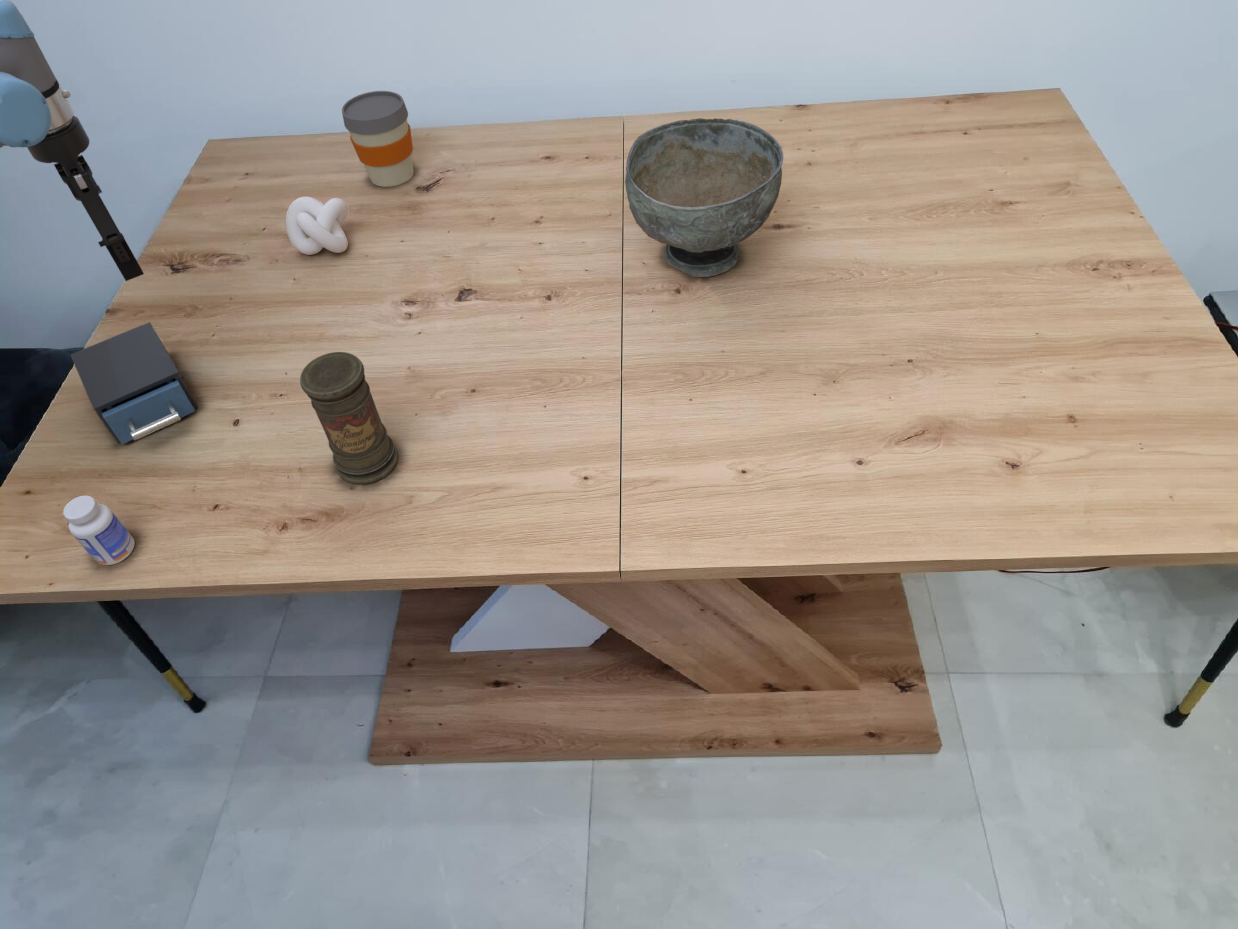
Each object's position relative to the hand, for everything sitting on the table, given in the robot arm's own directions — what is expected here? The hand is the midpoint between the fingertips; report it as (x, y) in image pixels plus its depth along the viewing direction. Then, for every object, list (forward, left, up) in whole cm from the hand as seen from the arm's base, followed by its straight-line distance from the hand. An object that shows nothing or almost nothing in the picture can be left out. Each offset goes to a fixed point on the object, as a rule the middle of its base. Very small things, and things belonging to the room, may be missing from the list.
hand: (122, 255), depth 137 cm
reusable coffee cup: (+53, +28, -20) cm, 64 cm away
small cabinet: (-8, -8, -20) cm, 23 cm away
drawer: (-8, -12, -19) cm, 24 cm away
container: (+15, -44, -20) cm, 50 cm away
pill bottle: (-20, -37, -20) cm, 46 cm away
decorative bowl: (+84, -36, -20) cm, 94 cm away
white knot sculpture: (+32, +12, -20) cm, 40 cm away
